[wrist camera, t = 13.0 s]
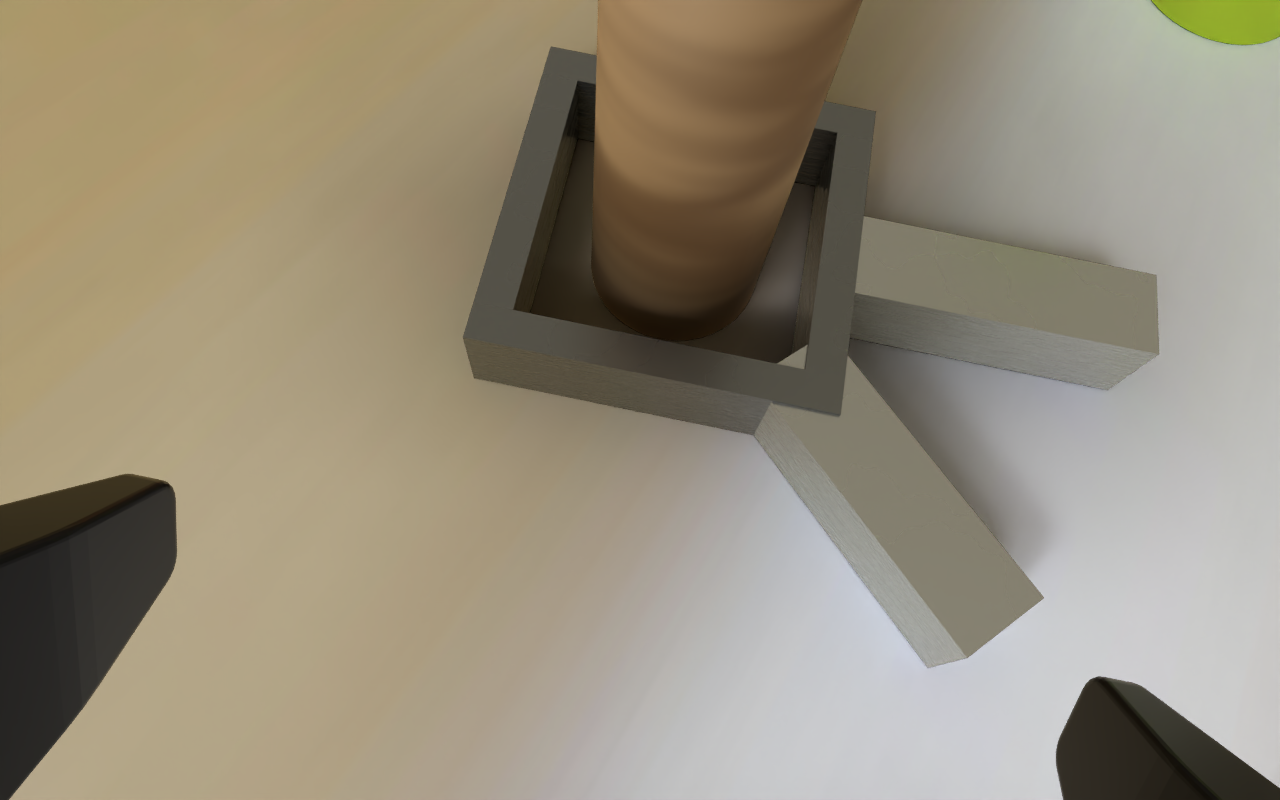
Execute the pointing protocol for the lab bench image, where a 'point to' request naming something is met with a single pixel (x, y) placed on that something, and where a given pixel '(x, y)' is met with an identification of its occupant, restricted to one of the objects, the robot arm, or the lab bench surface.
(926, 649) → the square collar with arms
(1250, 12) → the soap dispenser
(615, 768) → the lab bench surface
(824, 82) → the walnut sleeve
